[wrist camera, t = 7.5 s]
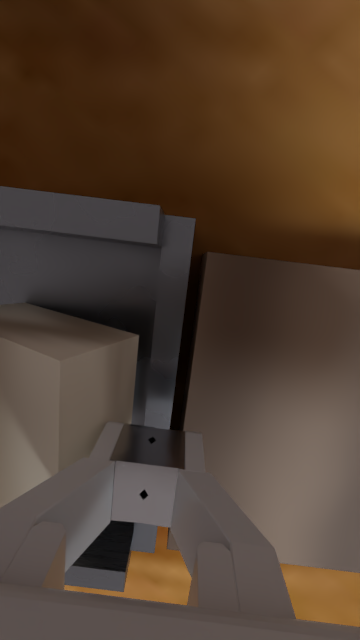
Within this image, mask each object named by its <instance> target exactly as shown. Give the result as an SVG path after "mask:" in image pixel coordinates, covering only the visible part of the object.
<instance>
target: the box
mask: <svg viewBox="0 0 360 640" xmlns="http://www.w3.org/2000/svg"><path fill="white" fill-rule="evenodd" d="M195 221H196V219H195V218H187V217H179V216H171V215H165V214H164V212H163V210H162V208H161V206H160V205H152V204H144V203H135V202H127V201H119V200H111V199H102V198H94V197H86V196H78V195H69V194H61V193H53V192H45V191H36V190H28V189H20V188H12V187H3V186H0V305H3V304H15V303H28V304H32V305H35V306H39V307H42V308H46V309H49V310H53V311H56V312H59V313H63V314H66V315H70V316H73V317H77V318H80V319H84V320H87V321H91V322H94V323H98V324H101V325H105V326H108V327H112V328H115V329H119V330H122V331H126V332H129V333H133V334H136V335H139V341H138V353H137V364H136V376H135V387H134V399H133V410H132V422H131V424H135V425H142V426H148V427H155V428H160V429H170V422H171V414H172V406H173V398H174V390H175V382H176V374H177V365H178V357H179V349H180V341H181V333H182V325H183V317H184V309H185V301H186V293H187V285H188V277H189V269H190V261H191V253H192V245H193V237H194V229H195ZM156 534H157V525H151V524H144V523H136V522H125V521H114V520H110V523H109V524H108V525H107V527H106V528H105V529H104V530H103V531H102V532H101V533H100V534H99V535H98V537H97V538H96V539H95V540H94V541H93V542H92V543H91V544H90V545H89V547H88V548H87V549H86V550H85V551H84V552H83V553H82V554H81V555H80V557H79V558H78V559H77V560H76V561H75V562H74V563H73V564H72V565H71V567H70V568H69V569H68V570H67V571H66V572H65V582H64V585H71V586H79V587H87V588H96V589H104V590H112V591H120V592H124V587H125V582H126V577H127V572H128V567H129V561H130V556H131V551H132V550H133V551H141V552H149V553H154V550H155V542H156Z"/></svg>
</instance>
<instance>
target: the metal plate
mask: <svg viewBox="0 0 360 640" xmlns="http://www.w3.org/2000/svg"><path fill="white" fill-rule="evenodd" d="M179 431H193V432H201V433H202V439H203V450H204V462H205V472H206V473H211V474H212V475H213V477H214V478H215V479H216V480H217V481H218V483H219V484H220V485H221V486H222V487H223V488H224V490H225V491H226V492H227V493H228V494H229V495H230V497H231V498H232V499H233V500H234V501H235V503H236V504H237V505H238V506H239V507H240V508H241V510H242V511H243V512H244V513H245V514H246V515H247V517H248V518H249V519H250V520H251V521H252V522H253V524H254V525H255V526H256V527H257V528H258V530H259V531H260V532H261V533H262V534H263V535H264V537H265V538H266V539H267V540H268V541H269V542H270V544H271V545H272V546H273V547H274V548H275V551H276V554H277V557H278V561H279V563H284V564H292V565H300V566H308V567H316V568H324V569H332V570H340V571H348V572H357V573H360V270H354V269H346V268H337V267H329V266H321V265H313V264H305V263H296V262H288V261H280V260H272V259H263V258H255V257H247V256H239V255H230V254H222V253H214V252H206V253H204V254H203V255H202V263H201V270H200V278H199V285H198V293H197V300H196V308H195V315H194V323H193V330H192V338H191V345H190V353H189V360H188V367H187V375H186V382H185V390H184V397H183V405H182V412H181V420H180V427H179ZM170 529H171V528H170V527H169V528H168V542H167V549H171V550H179V548H178V546H177V543H176V541H175V539H174V536H173V534H172V532H171V530H170ZM179 551H180V550H179Z"/></svg>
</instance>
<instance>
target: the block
mask: <svg viewBox="0 0 360 640" xmlns="http://www.w3.org/2000/svg"><path fill="white" fill-rule="evenodd" d="M138 341H139V335H136V334H133V333H129V332H126V331H122V330H119V329H115V328H112V327H108V326H105V325H101V324H98V323H94V322H91V321H87V320H84V319H80V318H77V317H73V316H70V315H66V314H63V313H59V312H56V311H53V310H49V309H46V308H42V307H39V306H35V305H32V304H28V303H15V304H3V305H0V508H1V507H3V506H4V505H6V504H7V503H9V502H11V501H12V500H14V499H16V498H17V497H19V496H21V495H22V494H24V493H26V492H27V491H29V490H31V489H32V488H34V487H35V486H37V485H39V484H40V483H42V482H44V481H45V480H47V479H49V478H50V477H52V476H54V475H55V474H57V473H59V472H60V471H62V470H63V469H65V468H67V467H68V466H70V465H72V464H73V463H75V462H77V461H78V460H80V459H82V458H83V457H85V458H89V456H90V454H91V452H92V450H93V448H94V446H95V444H96V442H97V440H98V438H99V436H100V434H101V432H102V430H103V428H104V427H105V425H106V423H107V422H108V421H113V422H121V423H124V424H125V423H128V424H131V422H132V410H133V399H134V387H135V376H136V364H137V353H138Z"/></svg>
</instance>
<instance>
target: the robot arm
mask: <svg viewBox="0 0 360 640" xmlns="http://www.w3.org/2000/svg"><path fill="white" fill-rule="evenodd" d="M110 520H114V521H125V522H136V523H144V524H151V525H157V526H163V527H170V528H171V529H170V530H171V532H172V534H173V536H174V539H175V541H176V543H177V546H178V548H179V550H180V552H181V555H182V557H183V559H184V561H185V564H186V566H187V568H188V571H189V573H190V575H191V577H192V580H191V586H190V592H189V597H188V603H187V605H179V604H171V603H163V602H155V601H147V600H139V599H131V598H123V597H115V596H107V595H99V594H92V593H84V592H76V591H68V590H64V582H65V572H66V571H67V570H68V569H69V568H70V567H71V565H72V564H73V563H74V562H75V561H76V560H77V559H78V558H79V557H80V555H81V554H82V553H83V552H84V551H85V550H86V549H87V548H88V547H89V545H90V544H91V543H92V542H93V541H94V540H95V539H96V538H97V537H98V535H99V534H100V533H101V532H102V531H103V530H104V529H105V528H106V527H107V525H108V524H109V523H110ZM0 640H360V627H354V626H346V625H339V624H331V623H323V622H315V621H307V620H299V619H296V617H295V614H294V611H293V607H292V604H291V601H290V597H289V594H288V591H287V587H286V584H285V581H284V577H283V574H282V571H281V567H280V564H279V561H278V557H277V554H276V551H275V548H274V547H273V546H272V545H271V544H270V542H269V541H268V540H267V539H266V538H265V537H264V535H263V534H262V533H261V532H260V531H259V530H258V528H257V527H256V526H255V525H254V524H253V522H252V521H251V520H250V519H249V518H248V517H247V515H246V514H245V513H244V512H243V511H242V510H241V508H240V507H239V506H238V505H237V504H236V503H235V501H234V500H233V499H232V498H231V497H230V495H229V494H228V493H227V492H226V491H225V490H224V488H223V487H222V486H221V485H220V484H219V483H218V481H217V480H216V479H215V478H214V477H213V475H212V474H211V473H206V472H205V462H204V450H203V439H202V433H201V432H193V431H179V430H170V429H160V428H155V427H148V426H142V425H135V424H128V423H125V424H124V423H121V422H113V421H108V422H107V423H106V425H105V427H104V428H103V430H102V432H101V434H100V436H99V438H98V440H97V442H96V444H95V446H94V448H93V450H92V452H91V454H90V456H89V458H85V457H83V458H82V459H80V460H78V461H77V462H75V463H73V464H72V465H70V466H68V467H67V468H65V469H63V470H62V471H60V472H59V473H57V474H55V475H54V476H52V477H50V478H49V479H47V480H45V481H44V482H42V483H40V484H39V485H37V486H35V487H34V488H32V489H31V490H29V491H27V492H26V493H24V494H22V495H21V496H19V497H17V498H16V499H14V500H12V501H11V502H9V503H7V504H6V505H4V506H3V507H1V508H0Z"/></svg>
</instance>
